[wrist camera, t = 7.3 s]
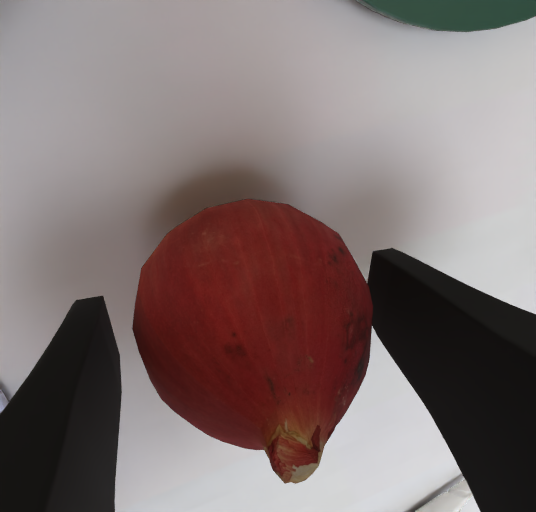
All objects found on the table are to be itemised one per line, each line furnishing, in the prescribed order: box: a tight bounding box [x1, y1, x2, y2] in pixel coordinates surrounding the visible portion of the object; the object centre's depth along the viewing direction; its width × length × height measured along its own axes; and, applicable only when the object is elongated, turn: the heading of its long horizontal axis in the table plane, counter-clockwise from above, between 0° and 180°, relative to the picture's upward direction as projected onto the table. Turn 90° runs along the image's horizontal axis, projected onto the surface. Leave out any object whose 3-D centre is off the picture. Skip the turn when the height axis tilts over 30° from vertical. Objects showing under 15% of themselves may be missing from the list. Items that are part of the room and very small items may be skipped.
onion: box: [132, 199, 373, 483], centre depth 11 cm, size 6×6×8 cm
